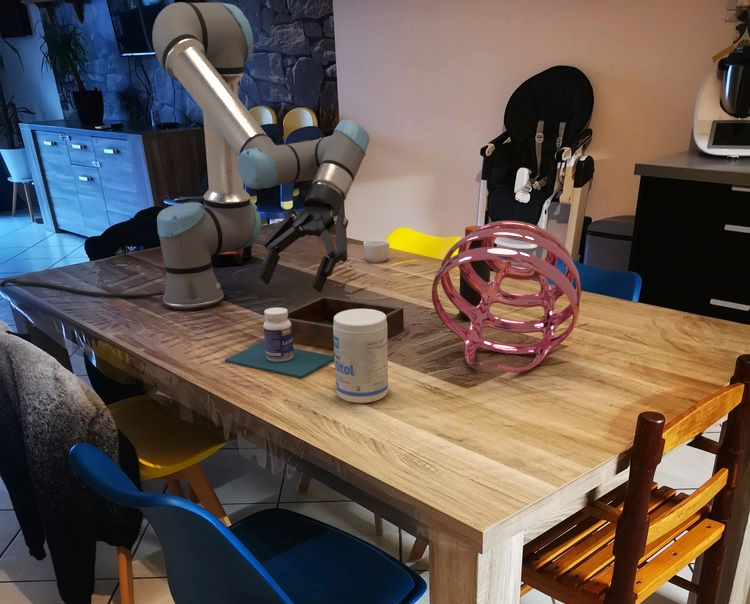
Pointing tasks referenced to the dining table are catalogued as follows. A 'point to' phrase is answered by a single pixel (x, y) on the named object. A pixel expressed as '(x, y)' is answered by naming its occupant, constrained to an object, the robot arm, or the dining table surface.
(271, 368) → the mat
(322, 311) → the wooden tray
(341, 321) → the supplement tub
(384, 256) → the teacup
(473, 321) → the spiral basket
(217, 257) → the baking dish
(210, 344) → the dining table surface
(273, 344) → the pill bottle
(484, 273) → the vinegar
